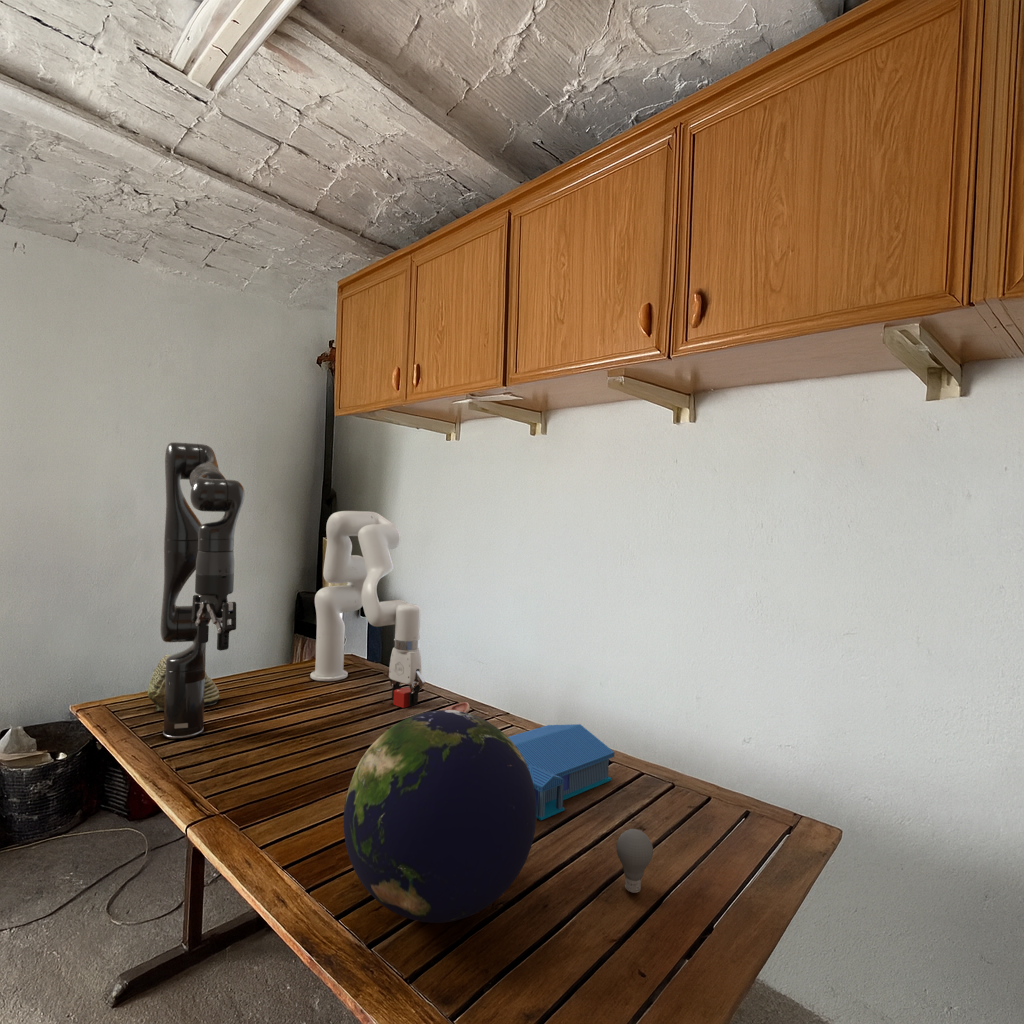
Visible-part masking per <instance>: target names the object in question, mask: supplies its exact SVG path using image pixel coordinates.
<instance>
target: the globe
mask: <svg viewBox="0 0 1024 1024" xmlns="http://www.w3.org/2000/svg"><path fill="white" fill-rule="evenodd" d="M508 737H509V736H508V735H507V734H505V732H503V731H502V730H501V729H500V728H498V727H497V726H495V725H494V724H492V723H491V722H489V721H488V720H485V719H483V718H482V717H479V716H477V715H475V714H472V713H469V712H468V713H464V712H461V711H456V710H441V709H438V711H437V710H430V711H425V712H422V713H421V712H420V713H418V714H414V715H412V716H409V717H407V718H405V719H403V720H401V721H399V722H397V723H395V724H394V725H393V726H391V727H390V728H388V729H387V730H386V731H385V732H383V733H382V734H381V735H380V736H378V738H377V739H376V740H375V741H374V742H373V743H372V744H371V745H370V746H369V747H368V749H367V750H366V751H365V753H364V754H363V756H362V757H361V758H360V760H359V762H358V764H357V765H356V768H355V770H354V773H353V775H352V777H351V778H350V782H349V784H348V789H347V791H346V797H345V800H344V809H343V835H344V843H345V847H346V851H347V855H348V858H349V861H350V863H351V866H352V868H353V870H354V873H355V874H356V876H357V878H358V880H359V881H360V882H361V884H362V885H363V887H364V888H365V889H366V890H367V892H368V893H369V894H370V895H371V896H372V897H373V899H375V901H377V903H379V904H381V905H382V906H383V907H384V908H386V909H387V910H389V911H391V912H392V913H394V914H396V915H398V916H400V917H403V918H406V919H408V920H411V921H416V922H419V923H427V924H428V923H429V924H444V923H451V922H456V921H459V920H463V919H467V918H469V917H471V916H473V915H476V914H478V913H480V912H482V911H483V910H485V909H487V908H488V907H489V906H490V905H492V904H494V903H495V902H496V901H497V900H498V899H499V898H501V896H503V895H504V893H506V891H508V889H510V887H511V886H512V885H513V883H514V882H515V881H516V879H517V878H518V876H519V875H520V873H521V871H522V869H523V867H524V866H525V864H526V862H527V860H528V857H529V854H530V852H531V849H532V845H533V843H534V838H535V832H536V827H537V818H536V817H537V806H536V795H535V790H534V785H533V781H532V778H531V774H530V772H529V769H528V766H527V764H526V762H525V760H524V758H523V756H522V755H521V753H520V751H519V750H518V749H517V747H516V746H515V745H514V744H513V742H512V741H511V740H510V739H509V738H508Z"/></svg>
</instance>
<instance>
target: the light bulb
mask: <svg viewBox="0 0 1024 1024" xmlns="http://www.w3.org/2000/svg"><path fill="white" fill-rule="evenodd" d="M615 849H616V854H617V857H618V859H619V861H620V863H621V865H622V867H623V873H624V874H623V875H624V876H625V878H624V888H625V890H627V891H628V892H630V893H634V894H635V893H639V892H640V891H641V889H642V887H641V886H642V879H643V877H644V875H645V871H646V868H647V867H648V866H649V864H650V863H651V861H652V859H653V855H654V847H653V843H652V841H651V838H649V836H648V835H647V834H646V833H645V832H643V831H642V830H641V829H636V828H629V829H627V830H625V831H623V832H622V833H621V834H620V835H619V837H618V839H617V841H616V847H615Z"/></svg>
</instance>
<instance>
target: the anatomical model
mask: <svg viewBox="0 0 1024 1024" xmlns="http://www.w3.org/2000/svg"><path fill="white" fill-rule="evenodd" d="M438 710H439V709H438ZM438 710H436V711H438ZM440 710H456V711H461V712H464V713H469V711H470V704H469V703H468V702H467V701H465V702H459V703H456V704H452V705H448V706H446V707H444V708H441V709H440Z"/></svg>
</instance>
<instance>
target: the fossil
mask: <svg viewBox="0 0 1024 1024" xmlns="http://www.w3.org/2000/svg"><path fill="white" fill-rule="evenodd" d="M171 655H172V654H165V655H164V656H163V657H162V658H161V659H160V660H159V662H158V663H157V666H156V667H155V669H154V670H153V672H152V675H151V677H150V680H149V684H148V688H147V697H148V699H149V700H150V701H152V703H153V704H154V706H155V711H158V712H159V711H162V712H163V711H164V705H165V674H166V660H167V658H168V657H169V656H171ZM220 698H221V696H220V690H219V688H218V686H217V685H216V683H215V682H214V681H213V679H212V678H211V677H209V675H208V674H207V672H206V671H205V693H204V707H207V706H213V705H215V704H217V703H218V701H219V699H220Z"/></svg>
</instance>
